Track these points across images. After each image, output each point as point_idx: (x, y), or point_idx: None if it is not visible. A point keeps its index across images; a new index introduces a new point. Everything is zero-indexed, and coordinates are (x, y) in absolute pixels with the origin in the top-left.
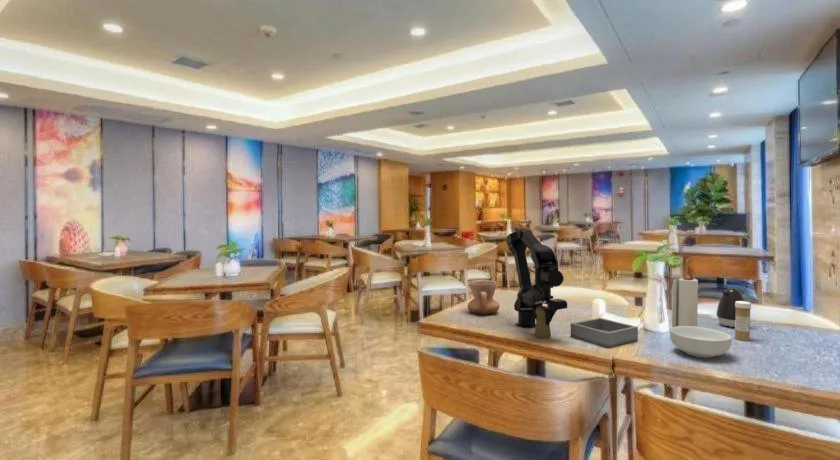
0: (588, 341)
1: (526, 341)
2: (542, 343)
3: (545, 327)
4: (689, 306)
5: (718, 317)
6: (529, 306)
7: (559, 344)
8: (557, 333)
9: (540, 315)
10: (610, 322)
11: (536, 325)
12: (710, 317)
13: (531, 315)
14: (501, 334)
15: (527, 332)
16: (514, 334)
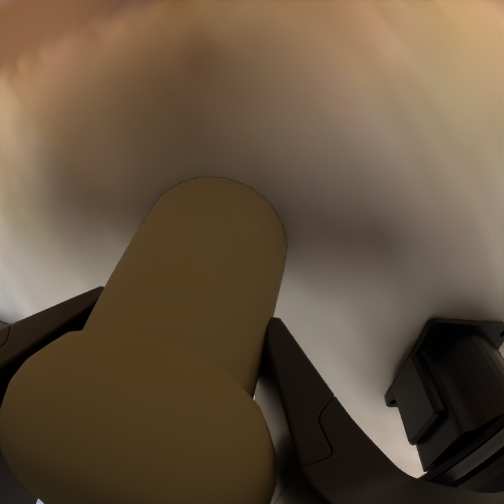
0: (5, 326)
1: (196, 4)
2: (79, 80)
3: (119, 261)
4: None
5: None
6: (472, 483)
7: (15, 171)
8: None
9: (92, 330)
10: None
11: (223, 236)
12: None
13: (435, 428)
14: (479, 39)
15: (375, 243)
16: (420, 104)
